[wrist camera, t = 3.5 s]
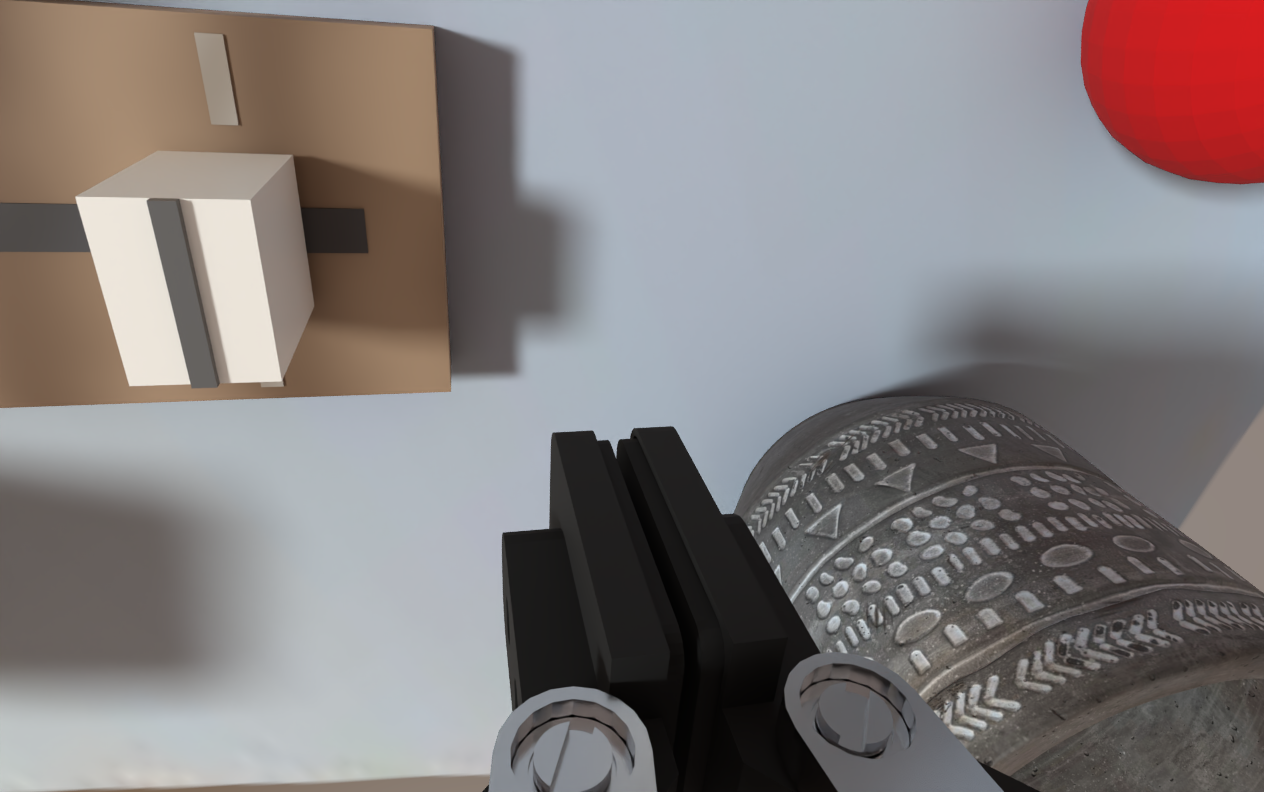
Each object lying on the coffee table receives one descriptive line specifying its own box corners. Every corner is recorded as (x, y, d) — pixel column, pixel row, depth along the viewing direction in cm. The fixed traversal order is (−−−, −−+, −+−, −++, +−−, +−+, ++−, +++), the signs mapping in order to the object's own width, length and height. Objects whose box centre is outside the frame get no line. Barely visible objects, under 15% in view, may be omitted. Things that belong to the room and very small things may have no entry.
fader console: (433, 25, 20) (431, 29, 18) (451, 363, 24) (450, 392, 22) (-567, -45, 15) (-700, -49, 13) (-308, 384, 20) (-382, 422, 18)
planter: (655, 405, 27) (840, 785, 14) (1011, 303, 28) (1480, 568, 15) (708, 658, 34) (862, 1059, 21) (989, 568, 35) (1293, 898, 23)
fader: (292, 154, 18) (248, 202, 14) (314, 305, 20) (280, 385, 16) (157, 150, 17) (70, 198, 13) (193, 307, 19) (125, 390, 15)
